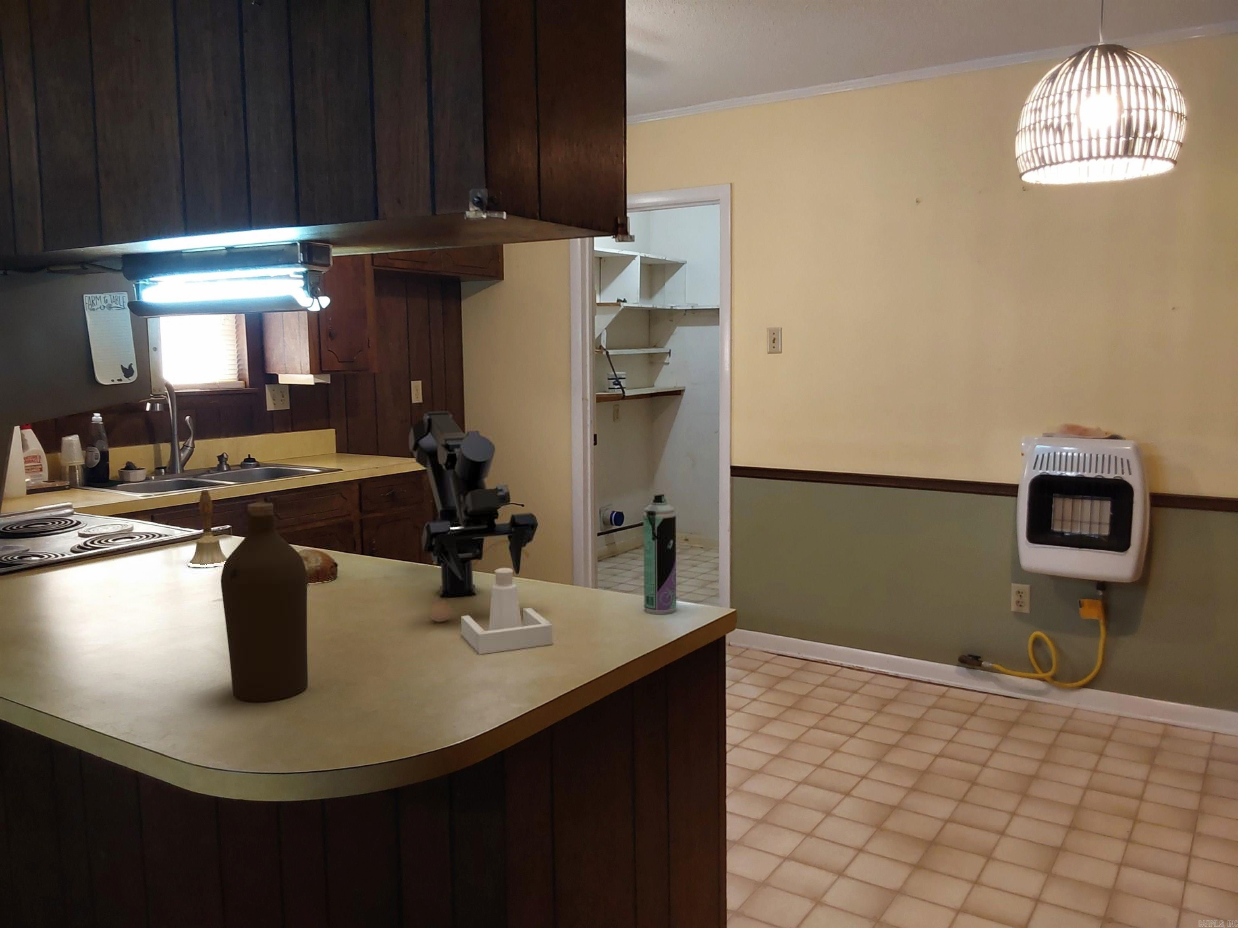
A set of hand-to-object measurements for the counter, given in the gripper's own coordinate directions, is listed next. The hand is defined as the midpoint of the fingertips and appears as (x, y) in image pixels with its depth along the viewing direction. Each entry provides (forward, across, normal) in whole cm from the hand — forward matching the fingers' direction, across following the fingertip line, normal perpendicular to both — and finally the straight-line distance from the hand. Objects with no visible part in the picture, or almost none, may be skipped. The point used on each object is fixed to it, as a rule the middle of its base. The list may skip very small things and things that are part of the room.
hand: (490, 575), depth 156 cm
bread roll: (-26, -24, +40) cm, 53 cm away
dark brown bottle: (+18, -35, -6) cm, 39 cm away
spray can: (+9, +29, +4) cm, 30 cm away
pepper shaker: (+12, 0, 0) cm, 12 cm away
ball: (+2, -7, +10) cm, 12 cm away
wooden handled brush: (-43, -43, +57) cm, 83 cm away
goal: (+12, 0, 0) cm, 12 cm away
